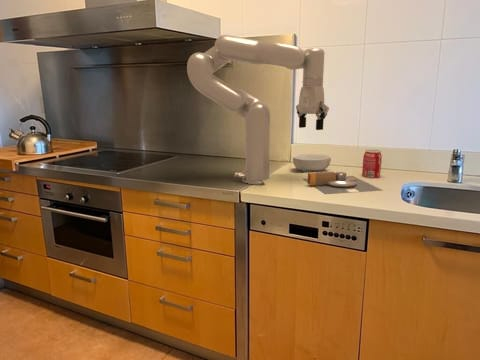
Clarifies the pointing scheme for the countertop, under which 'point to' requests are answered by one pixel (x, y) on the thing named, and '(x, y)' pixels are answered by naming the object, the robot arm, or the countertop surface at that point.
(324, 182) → the dial
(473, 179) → the countertop surface
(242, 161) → the countertop surface
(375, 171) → the soda can
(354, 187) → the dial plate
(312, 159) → the cereal bowl
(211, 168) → the countertop surface
